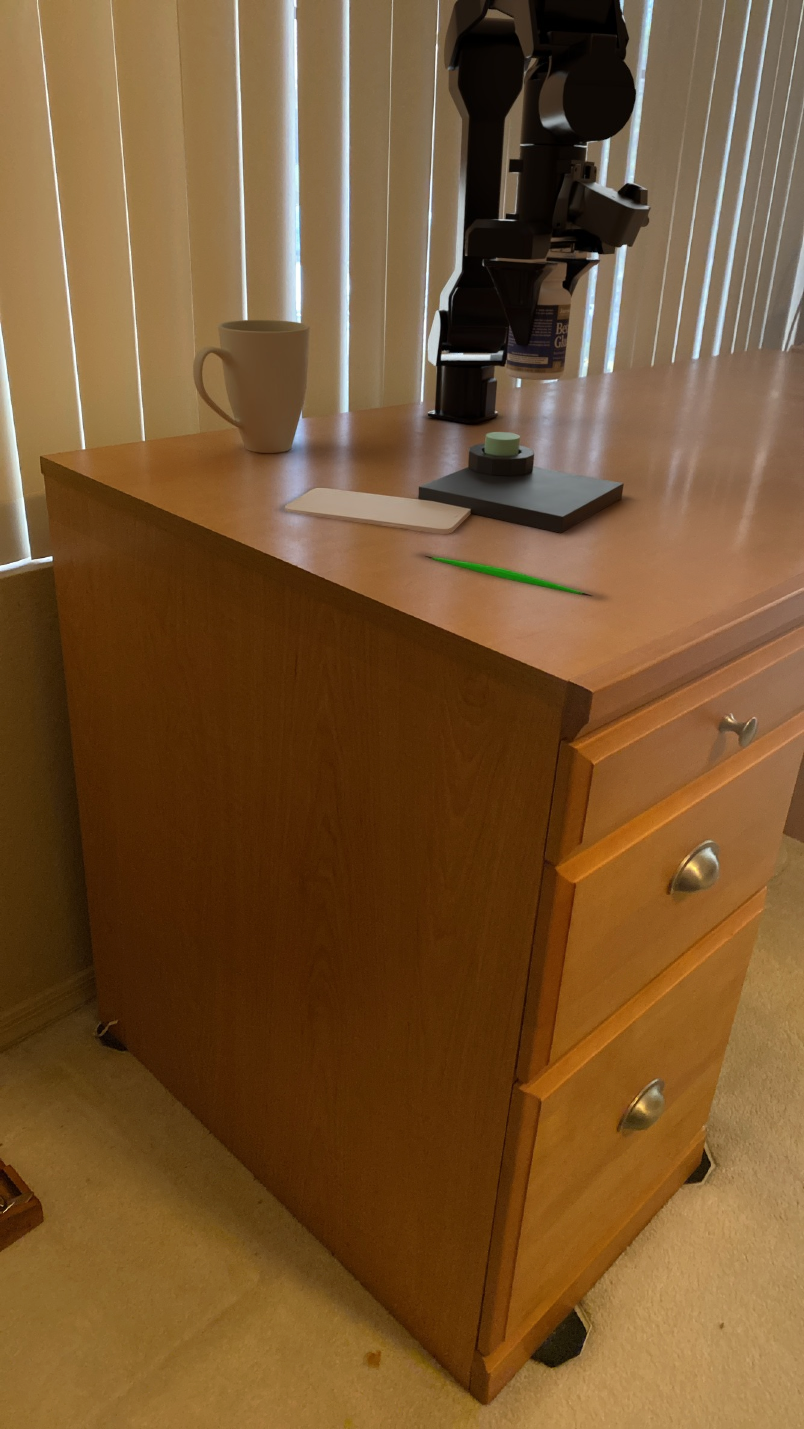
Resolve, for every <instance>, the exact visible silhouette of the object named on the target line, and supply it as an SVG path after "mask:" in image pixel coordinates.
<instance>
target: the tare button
mask: <svg viewBox="0 0 804 1429" xmlns="http://www.w3.org/2000/svg"><path fill="white" fill-rule="evenodd" d="M520 440H521V437H520V435H518V434H517V433H514V432H507V431H492V432H488V433H486V434H485V439H484V444H485V451H484V452H485V453H487V454H492V455H498V456H511V455H518V452H519V445H520Z"/></svg>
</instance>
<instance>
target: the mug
mask: <svg viewBox="0 0 804 1429" xmlns="http://www.w3.org/2000/svg"><path fill="white" fill-rule="evenodd" d="M217 329H218V338H219V346H220V347H217V346H205V347H201V348H200V349H199V350H198V351H197V352H196V354H195V356H194V358H193V363H192V364H193V365H192V375H193V381H194V385H195V388H196V391H197V392H198V395H199V396H200V398H201V399H202V400H203V401H204V402H205V404H206V405H207V406H208V407H209V408H210V409H211V410H213V411H214V412H215V413H216V414H217V415H218V416H219V417H221V418H222V419H224V420H225V421H226V422H227V423H229V424H230V425H232V426H234V427H236V428H237V429H238V431H239V434H240V437H241V440H242V443H243V446H244V448H245V449H246V450H247V451H249V452H253V453H260V454H273V453H274V454H277V453H283V452H288V451H289V450H291V449H292V447H293V443H294V441H295V436H296V433H297V429H298V426H299V422H300V419H301V415H302V411H303V407H304V402H305V399H306V393H307V382H308V371H309V370H308V368H309V365H308V364H309V346H310V325H308V324H305V323H302V322H297V321H291V320H290V321H289V320H280V319H279V320H278V319H241V320H240V319H239V320H233V321H232V320H231V321H225V322H224V321H223V322H220V323H219V324H218V325H217ZM209 354H214V355H216V356H217V357H218V358H220V360H221V361H222V371H223V377H224V386H225V391H226V396H227V400H228V402H229V406H230V409H231V412H232V414H233V418H232V417H231V416H229V415H228V413H226V412H225V411H224V410H223V409H222V408H221V407H219V405H217V404H216V402H215V401H214V400H212V398H211V397H210V396H209V394H208V393H207V390H206V388H205V385H204V380H203V370H204V362H205V359H206V358H207V357H208V355H209Z"/></svg>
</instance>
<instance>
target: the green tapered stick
mask: <svg viewBox="0 0 804 1429" xmlns="http://www.w3.org/2000/svg"><path fill="white" fill-rule="evenodd" d="M424 557H425V558H428V559H431V560H433V561H437V562H440V563H444V564H449V565H452V566H456V567H459V568H463V569H466V570H469V571H474V572H477V573H481V574H486V575H489V576H493V577H497V578H502V579H506V580H510V581H514V582H519V583H524V584H528V585H532V586H538V587H542V588H548V589H553V590H556V591H557V590H558V591H561V592H562V591H563V592H568V593H571V594H572V593H573V594H577V595H583V596H591V597H593V595H592V594H589V593H586V592H583V591H579V590H577V589H573V588H570V587H567V586H563V585H561V584H557V583H554V582H550V581H547V580H544V579H540V578H537V577H534V576H531V575H527V574H523V573H521V572H518V571H513V570H509V569H505V568H502V567H496V566H491V565H486V564H481V563H480V564H479V563H474V562H469V561H468V562H467V561H461V560H455V559H449V558H442V557H434V556H427V555H424Z"/></svg>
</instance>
